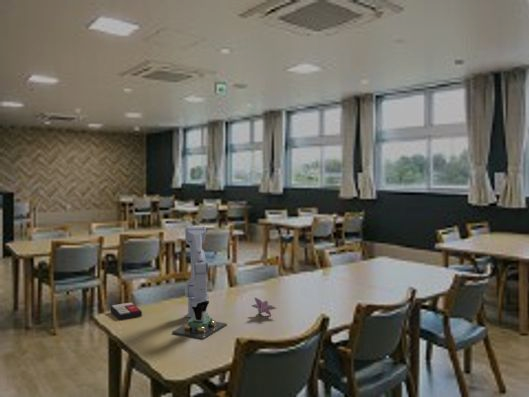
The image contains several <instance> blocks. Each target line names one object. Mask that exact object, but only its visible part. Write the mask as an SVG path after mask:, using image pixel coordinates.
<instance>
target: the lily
mask: <svg viewBox="0 0 529 397" xmlns="http://www.w3.org/2000/svg"><path fill="white" fill-rule="evenodd" d="M253 299H254V300H255V303H256V304H252V305H251V307H252V308H256V309H257V314H259V319H261V317H262V314H264V313H265V314H267V315H268V316H272V313H271V311H273V310H277V307H275V306H273V305H270V304H269V301H268V300H264V301H262V300H261V299H259V298H257V297H255V296H254V298H253Z"/></svg>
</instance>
